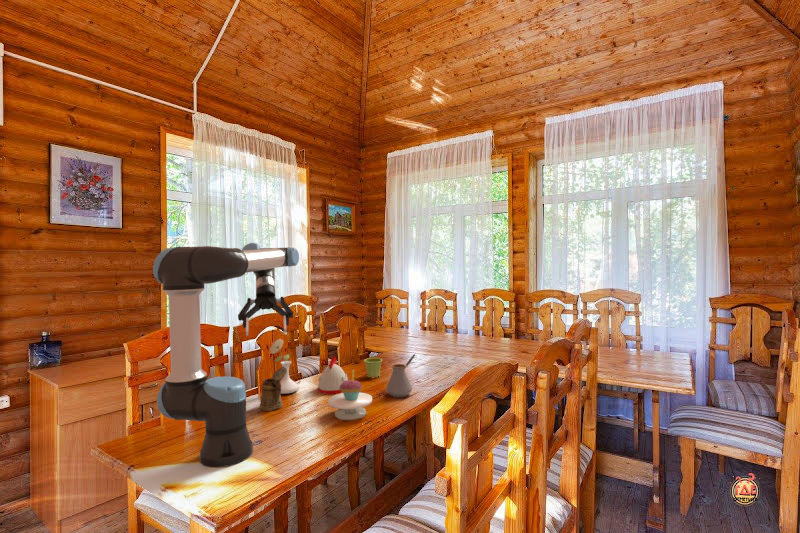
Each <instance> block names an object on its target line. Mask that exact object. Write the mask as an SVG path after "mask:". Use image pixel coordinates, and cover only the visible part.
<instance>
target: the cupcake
mask: <svg viewBox="0 0 800 533" xmlns="http://www.w3.org/2000/svg"><path fill="white" fill-rule="evenodd" d="M354 377H355V369H354V368H353V369H352V373H351V379H348V380H347V381H345V382H343V383H342V384H341V385H340V391H342V393H343V394H344V397H345V399H346V400H348V401H353V400H356V399H357V398H358V395H359V392H361V391H362V388H363V386H362V383H361V382H359V381H358V380H355V379H354Z"/></svg>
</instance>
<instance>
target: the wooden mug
mask: <svg viewBox="0 0 800 533" xmlns="http://www.w3.org/2000/svg"><path fill="white" fill-rule="evenodd" d="M286 371H287V369H286V368H285V367H282V366H281V367H279V369H277V370H276V371H275V372H274V373H273V375H272V378H266V379H263V380H262V384H261V389H262V390H261V397H260V404H259V408H258V409H259V410H260V411H263V412H271V411H276V410H279V409H281V408H282V407H283V406H284V403H283V400H282V396H281V395H282V394H280V393H281V383H280V381H281V380H282V379H283V377H284V376H285V374H286Z"/></svg>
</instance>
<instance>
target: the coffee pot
mask: <svg viewBox="0 0 800 533" xmlns="http://www.w3.org/2000/svg"><path fill="white" fill-rule="evenodd" d="M415 356H416V354H412V355H411V357H410V358H409V359H408V361H407V362H406V364H401V363H398V364H397V363H396V364H392V365H391V368H392V373H391V375H390V378H389V381H388V382H387V384H386V392H387V394H389V395H390V397H392V396H393V397H392V398H405V397H407V396H408V395H409V394H410V393H411V392H412V390H413V387H412V384H411V382H410V380H409V377H408V375H407V372H406V371H405V370H406V368H407V367H408V366H409V365H410V364H411V362H412V361H413V359H416V357H415Z"/></svg>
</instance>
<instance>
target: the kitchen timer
mask: <svg viewBox="0 0 800 533" xmlns="http://www.w3.org/2000/svg"><path fill="white" fill-rule="evenodd" d="M337 360H338V359H337V358H336V356H332V357H331V359H330V361H329V364H328V365H327V366H326V367H325V368H324V369H323V370H322V372H321V375H319V377H318V384H317V388H318V393H320V394H323V393H324V395H337V394H336V393H338V394H341V392H342V391H340V385H341V384H342V383H343V382H345V381H347V380H349V379H348V374H347V373H345V371H344V370H343V368H342V367H341V366H340V365H339V364H337ZM342 393H343V392H342Z"/></svg>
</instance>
